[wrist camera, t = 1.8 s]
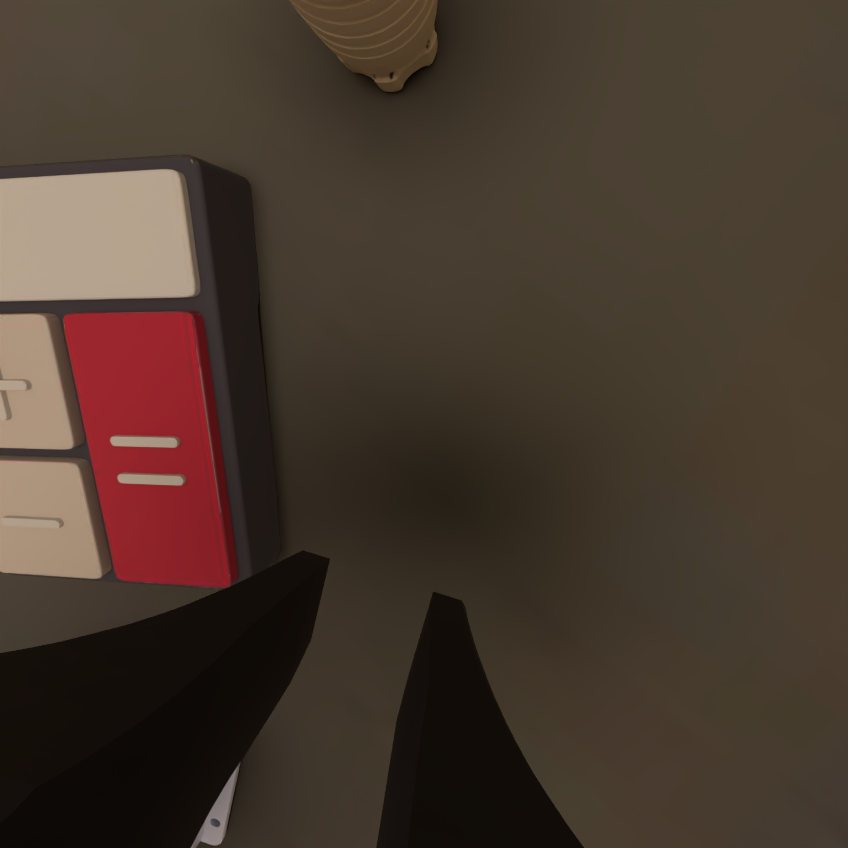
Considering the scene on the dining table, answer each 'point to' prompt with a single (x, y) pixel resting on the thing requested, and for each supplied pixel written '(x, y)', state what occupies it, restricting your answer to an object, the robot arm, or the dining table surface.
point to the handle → (376, 35)
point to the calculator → (132, 375)
